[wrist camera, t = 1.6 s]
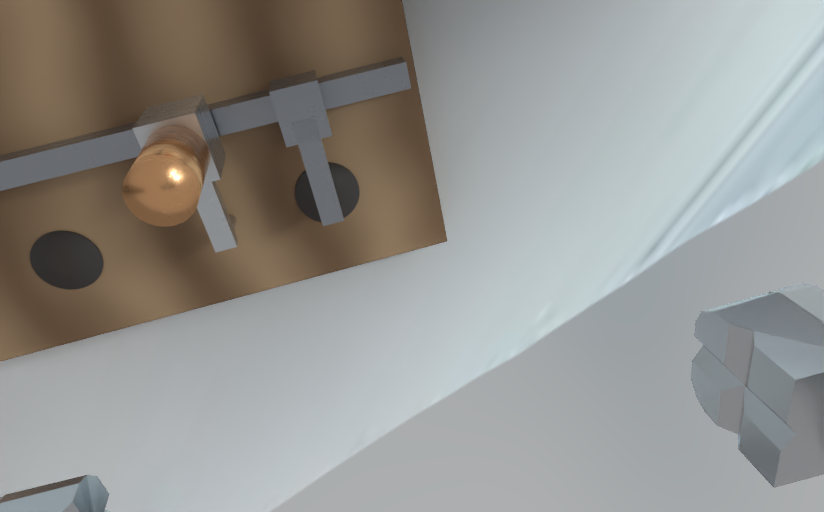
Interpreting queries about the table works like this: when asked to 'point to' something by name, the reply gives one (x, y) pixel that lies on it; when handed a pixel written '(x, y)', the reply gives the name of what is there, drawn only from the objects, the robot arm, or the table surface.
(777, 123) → the table surface
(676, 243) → the table surface
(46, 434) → the table surface
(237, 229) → the brown wooden board
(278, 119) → the bar
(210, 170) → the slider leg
